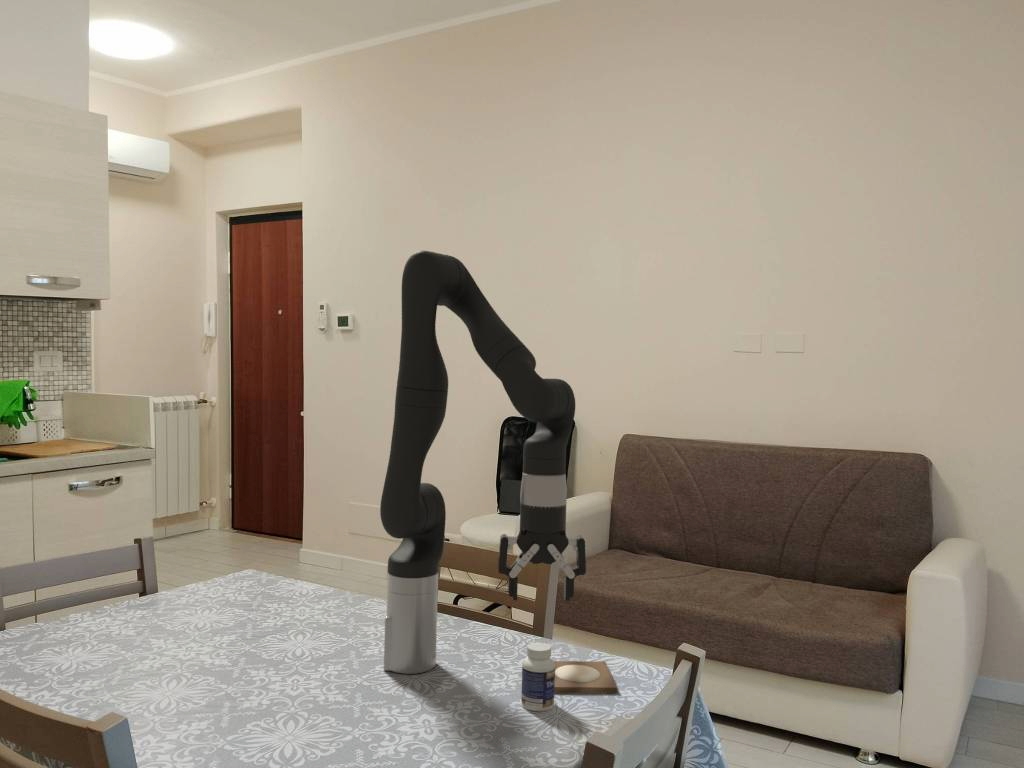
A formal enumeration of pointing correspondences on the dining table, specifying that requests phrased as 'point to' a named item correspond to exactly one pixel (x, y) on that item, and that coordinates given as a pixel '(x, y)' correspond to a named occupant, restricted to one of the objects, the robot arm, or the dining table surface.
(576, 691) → the rest board
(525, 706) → the pill bottle
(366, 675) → the dining table surface
